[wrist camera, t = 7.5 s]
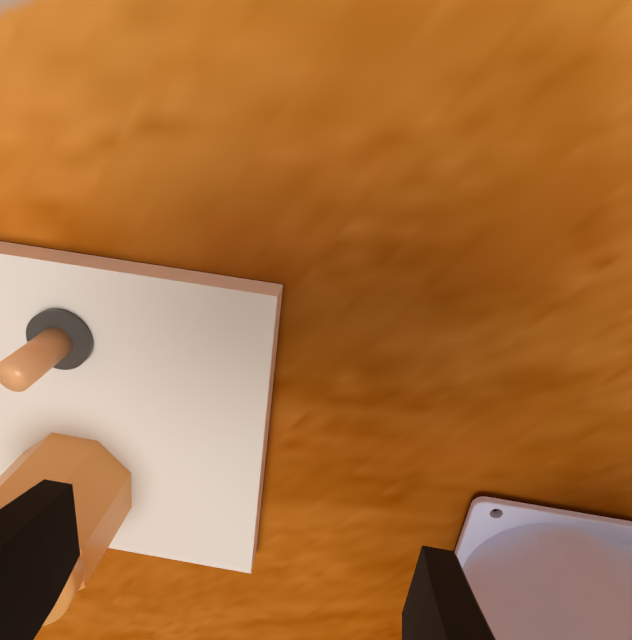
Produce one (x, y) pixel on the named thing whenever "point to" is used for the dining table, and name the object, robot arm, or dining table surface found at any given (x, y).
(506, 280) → the dining table surface
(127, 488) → the acorn nut
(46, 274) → the junction plate
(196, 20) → the dining table surface
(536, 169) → the dining table surface
